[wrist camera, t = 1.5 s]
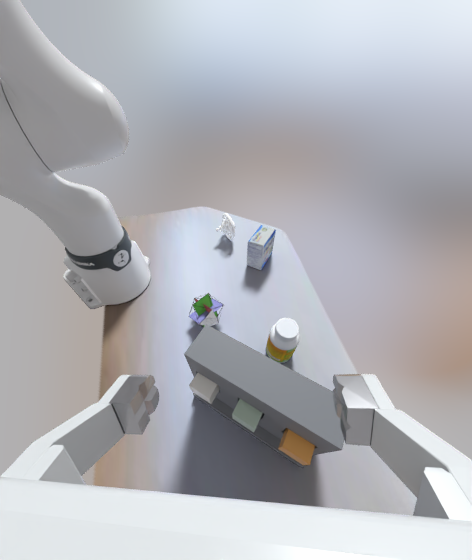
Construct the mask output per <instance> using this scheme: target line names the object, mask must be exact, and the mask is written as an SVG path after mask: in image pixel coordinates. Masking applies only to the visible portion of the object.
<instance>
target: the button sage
mask: <svg viewBox="0 0 472 560" xmlns="http://www.w3.org/2000/svg"><path fill="white" fill-rule="evenodd" d="M261 415H262V412H260V411H259V410H257V409H256V408H254V407H252V406H251V405H249V404H248V403H246V402H244V401H243V400H241V399H239V401H238V403H237V405H236V407H235V409H234V411H233V413H232V418H233V419H234V420H236V421H237V422H239V423H240V424H242V425H243V426H245V427H246V428H248V429H249V430H251V431H252V432H254V431H255V429H256V427H257V425H258V422H259V420H260V418H261Z"/></svg>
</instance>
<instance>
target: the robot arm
mask: <svg viewBox="0 0 472 560" xmlns="http://www.w3.org/2000/svg"><path fill="white" fill-rule="evenodd" d="M0 78H1V79H0V195H2V196H4V197H6V198H8V199H11V200H13V201H14V202H16V203H18V204H20V205H22V206H23V207H25V208H27V209H28V210H30V211H31V212H33V213H34V214H36V215H37V216H38V217H39V218H40V219H41V220H43V221H44V222H45V223H46V224H47V226H48V227H49V228H50V229H51V230H52V231H53V232H54V233H55V235H56V236H57V237H58V238H59V239H60V241H61V242H62V243H63V244H64V246H65V250H66V253H67V256H66V257H65V259H64V264H65V265H66V266H67V267H68V269H67V271H66V272H65V274H64V275H63V278H64V279H65V281H66V282H67V283H68V284H69V285H70V287H71V288H72V289H73V290H74V291H75V292H76V293H77V295H78V296H79V297H80V298H81V299H82V300H83V301H84V302H85V304H86V305H87V306H88V307H89V308H90V309H95V308H99V307H102V306H104V305H114V304H120V303H124V302H127V301H129V300H132V299H133V298H135V297H137V296H138V295H140V294H141V293H142V292H143V291H144V290H145V289H146V287H147V286H148V284H149V282H150V278H151V274H150V271H149V264H150V260H149V258H148V257H146V256H143V255H142V253H141V251H140V249H139V247H138V246H137V244H136V242H135V241H132V240H130V237H129V235H128V233H127V232H126V230H125V228H124V227H123V226H121V224H120V222H119V220H118V217H117V215H116V213H115V211H114V209H113V207H112V205H111V202H110V201H109V199H108V198H107V197H106V196H105V195H104V194H102V193H101V192H99V191H98V190H96V189H94V188H91V187H89V186H85V185H80V184H75V183H72V182H69V181H66V180H65V179H63V178H61V177H59V176H58V175H56V174H55V172H59V171H65V170H70V169H76V168H81V167H87V166H92V165H97V164H100V163H103V162H106V161H108V160H110V159H113V158H115V157H117V156H120V155H122V154H124V152H125V150H126V148H127V145H128V140H129V128H128V123H127V119H126V116H125V114H124V111H123V109H122V107H121V106H120V104H119V102H118V101H117V99H116V98H115V97H114V95H113V94H112V93H111V92H110V91H109V90H108V89H107V88H106V87H105V86H104V85H103V84H102V83H100V82H99V81H98V80H95V79H94V78H92V77H91V76H89V75H87V74H86V73H85V72H83V71H82V70H80V69H79V68H77V67H76V66H75V65H74V64H72V63H71V62H70V61H69V60H68V59H67V58H66V57H65V56H64V55H62V53H60V52H59V50H58V49H57V48H56V47H55V46H54V45H53V44H52V43H51V42H50V41H49V40H48V39H47V37H46V36H45V35H44V34H43V33H42V31H41V30H40V29H39V27H38V26H37V25H36V23H35V22H34V21H33V19H32V18H31V16H30V15H29V13H28V12H27V10H26V9H25V7H24V6H23V4H22V3H21V1H20V0H0ZM154 383H155V380H154V377H153V376H151V375H122V376H120V377H119V378H118V379H117V380H116V381H115V383H114V384H113V385H112V386H111V387H110V389H109V390H108V391H107V392H106V393H105V395H104V396H103V397H102V398H101V400H100V401H99V402H98V403H94V404H92V405H91V406H89V407H88V408H86V409H85V410H83V411H81V412H80V413H78V414H77V415H75V416H74V417H72V418H70V419H69V420H67V421H66V422H64V423H63V424H61V425H59V426H58V427H56V428H55V429H53V430H51V431H50V432H48V433H47V434H45V435H43V436H42V437H40V438H39V439H37V440H35V441H34V442H33V443H32V444H31V445H30V446H29V447H28V448H27V449H26V450H25V451H24V452H23V453H22V454H21V455H20V456H19V457H18V458H17V459H16V460H15V462H14V463H12V465H11V466H10V467H9V468H8V469H7V470H6V471H5V472H4V473H3V474H2V475H1V476H0V560H472V460H471V459H469V458H468V457H466V456H465V455H464V454H462V453H461V452H459V451H458V450H457V449H455V448H454V447H452V446H451V445H450V444H448V443H447V442H445V441H444V440H442V439H441V438H440V437H438V436H437V435H435V434H434V433H432V432H431V431H430V430H428V429H427V428H426V427H424V426H422V425H421V424H420V423H418V422H417V421H415V420H414V419H413V418H411V417H410V416H409V415H407V414H406V413H404V412H403V411H401V410H396V409H395V407H394V405H393V404H392V402H391V400H390V399H389V397H388V395H387V394H386V392H385V390H384V389H383V387H382V385H381V384H380V382H379V380H378V379H377V377H376V376H375V375H374V374H360V375H359V374H343V375H334V376H333V383H334V386H335V389H334V390H333V401H334V407H335V411H336V414H337V416H338V417H339V418H340V427H341V430H342V434H343V437H344V440H345V443H346V444H352V445H365V446H371V448H372V449H373V450H374V451H375V452H376V453H377V455H378V456H379V457H380V458H381V459H382V460H383V461H384V462H385V463H386V464H387V465H388V467H389V468H390V469H391V470H392V471H393V472H394V473H395V474H396V475H397V476H398V477H399V479H400V480H401V481H402V482H403V483H404V484H405V485H406V486H407V487H408V488H409V489H410V491H411V492H412V493H413V494H414V495H415V496H416V497H417V502H416V506H415V510H414V514H413V516H411V515H400V514H389V513H379V512H368V511H358V510H347V509H336V508H326V507H315V506H305V505H294V504H283V503H273V502H262V501H252V500H241V499H231V498H220V497H209V496H199V495H188V494H177V493H166V492H156V491H145V490H134V489H124V488H113V487H103V486H92V485H86V483H85V481H84V480H83V478H82V475H83V474H84V473H85V472H86V471H87V470H88V469H89V468H90V467H92V466H93V465H94V464H95V463H96V462H97V461H98V460H99V459H100V458H101V457H102V456H103V455H104V454H105V453H106V452H107V451H108V450H110V449H111V448H112V447H113V446H114V445H115V444H116V443H117V442H118V441H119V440H120V439H121V438H122V437H123V436H124V434H143V432H144V430H145V428H146V426H147V424H148V423H149V421H150V417H149V415H150V414H151V413H153V412H154V411H155V409H156V407H157V405H158V401H159V392H158V389H157V388H156V387H155V386H154Z"/></svg>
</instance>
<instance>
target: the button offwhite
mask: <svg viewBox="0 0 472 560" xmlns="http://www.w3.org/2000/svg"><path fill="white" fill-rule="evenodd" d="M189 386H190V388H191V390H192V392H193V393H195V394H196V395H198V396H199V397H201V398H202V399H204V400H205V401H207V402H208V403H210V404H212V402H213V400H214V399H215V397H216V395H217V393H218V392H219V390H220V389H219V385H217V384H216V383H214V382H212V381H211V380H209V379H208V378H206V377H204V376H203V375H201V374H200V373H197V374H196V376H195V377H194V379H193V380H192V382H191V383H190V385H189Z"/></svg>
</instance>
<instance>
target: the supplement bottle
mask: <svg viewBox="0 0 472 560" xmlns="http://www.w3.org/2000/svg"><path fill="white" fill-rule="evenodd" d="M299 339H300V336H299V327H298V325H297V323H296V322H295V321H294V320H292V319H290V318H282V319H280V320H278V322H277V323H276V324H275V325H274V326H273V327H272V328H271V330H270V334H269V338H268V341H267V345H266V352H267V355H268V356H269V358H271V359H273V360H274V361H276V362H278V363H284V362H287V361H288V360H289V359H290V358H291V357H292V355H293V353H294V351H295V349H296V347H297V345H298V343H299Z"/></svg>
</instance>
